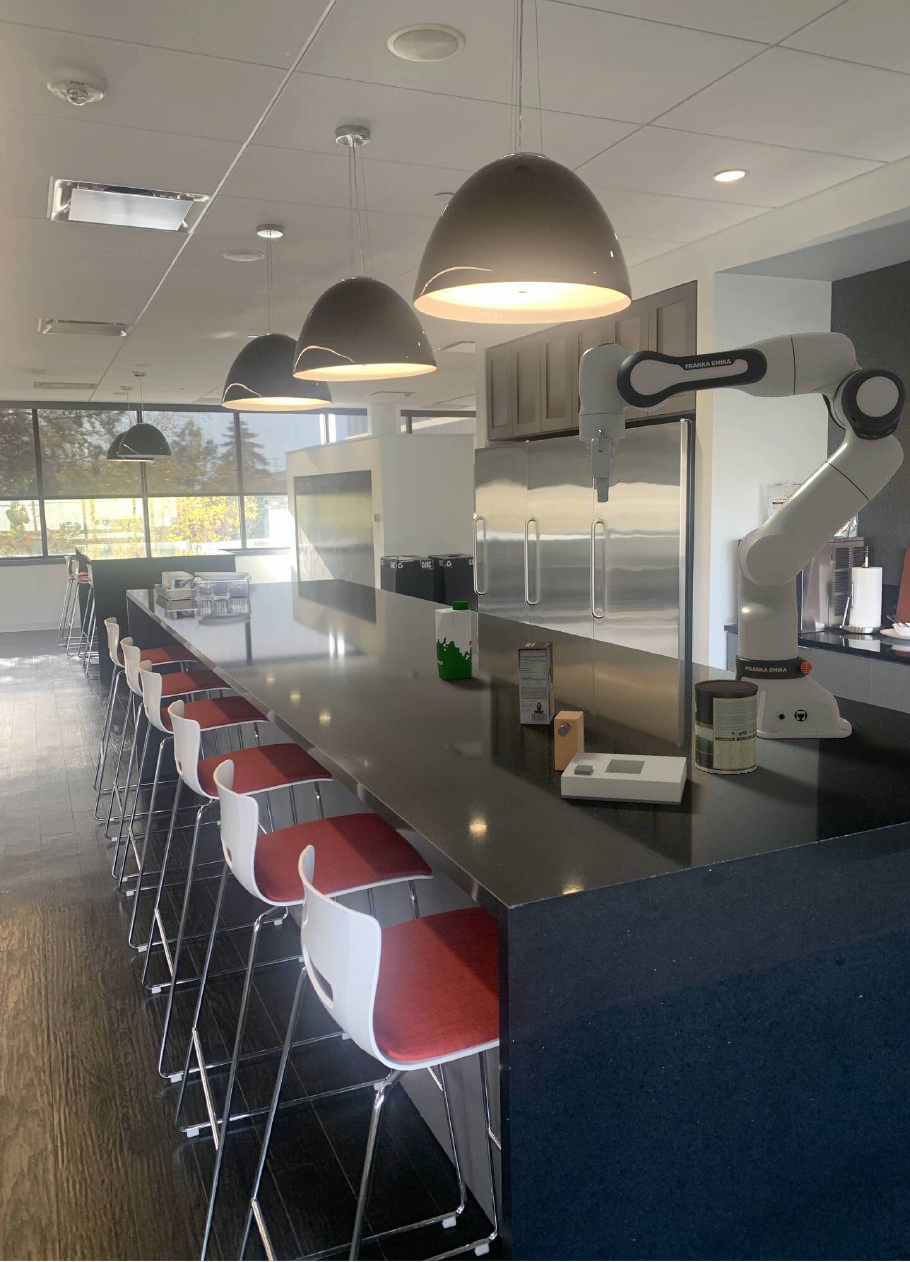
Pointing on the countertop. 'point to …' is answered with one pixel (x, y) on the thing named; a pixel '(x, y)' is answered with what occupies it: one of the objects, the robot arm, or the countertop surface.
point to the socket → (625, 778)
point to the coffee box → (536, 682)
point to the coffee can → (726, 726)
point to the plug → (568, 737)
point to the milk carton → (454, 641)
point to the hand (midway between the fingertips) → (603, 502)
